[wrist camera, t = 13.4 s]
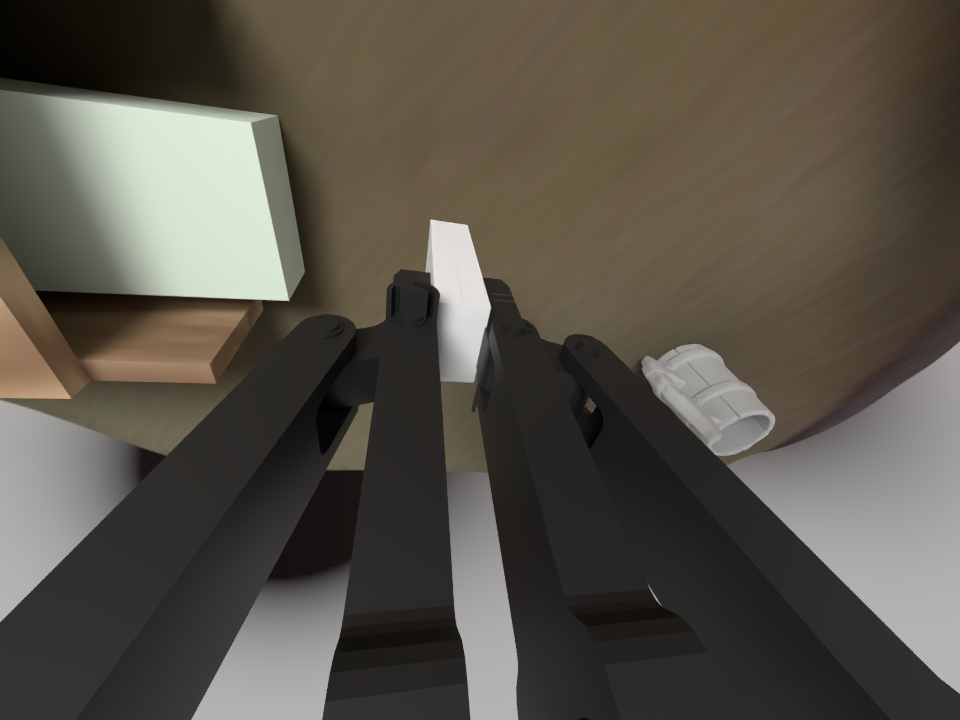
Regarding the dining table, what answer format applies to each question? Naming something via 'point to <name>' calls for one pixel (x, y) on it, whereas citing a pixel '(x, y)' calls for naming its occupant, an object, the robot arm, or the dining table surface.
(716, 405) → the mug
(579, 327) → the dining table surface
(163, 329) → the wooden box
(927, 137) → the dining table surface
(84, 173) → the pale green block
